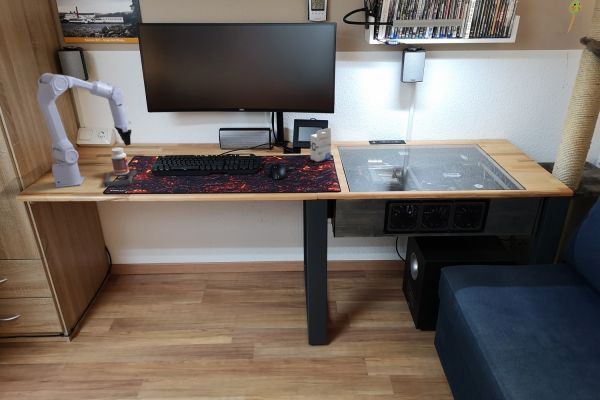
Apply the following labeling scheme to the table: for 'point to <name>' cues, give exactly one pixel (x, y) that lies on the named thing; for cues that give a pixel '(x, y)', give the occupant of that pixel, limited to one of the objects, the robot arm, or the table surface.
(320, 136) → the ink box
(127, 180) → the mount cradle
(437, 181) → the table surface
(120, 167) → the pill bottle
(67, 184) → the robot arm
